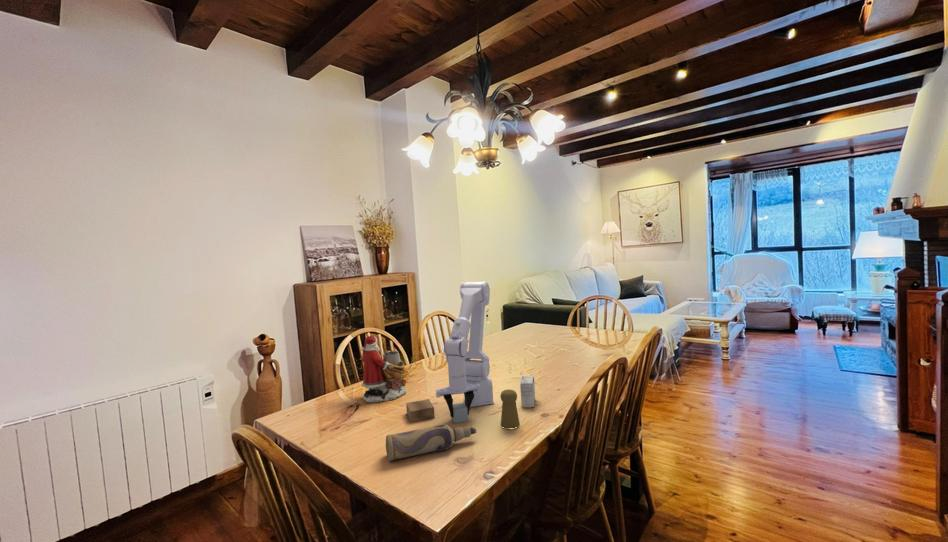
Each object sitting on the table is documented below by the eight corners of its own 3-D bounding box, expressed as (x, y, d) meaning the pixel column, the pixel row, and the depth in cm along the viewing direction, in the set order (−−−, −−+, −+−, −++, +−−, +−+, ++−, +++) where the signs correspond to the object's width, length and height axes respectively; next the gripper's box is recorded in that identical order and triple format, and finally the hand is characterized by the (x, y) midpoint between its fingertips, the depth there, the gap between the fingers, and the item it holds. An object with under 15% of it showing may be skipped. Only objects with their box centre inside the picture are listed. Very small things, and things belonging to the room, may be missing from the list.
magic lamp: (377, 381, 173) (375, 356, 173) (418, 378, 174) (417, 353, 174) (374, 386, 166) (372, 361, 166) (417, 383, 168) (415, 358, 167)
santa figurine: (409, 388, 162) (404, 328, 161) (404, 401, 148) (398, 336, 147) (368, 391, 162) (362, 331, 160) (359, 405, 148) (353, 339, 146)
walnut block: (429, 410, 139) (428, 399, 139) (434, 418, 132) (434, 407, 132) (406, 414, 137) (406, 403, 137) (411, 423, 129) (410, 411, 129)
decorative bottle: (389, 467, 103) (387, 442, 103) (385, 454, 110) (384, 430, 110) (481, 446, 111) (480, 423, 111) (473, 435, 118) (471, 413, 118)
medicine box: (534, 408, 136) (533, 383, 135) (521, 407, 137) (520, 383, 136) (535, 399, 143) (534, 376, 143) (523, 399, 144) (521, 375, 144)
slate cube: (464, 415, 132) (464, 402, 132) (468, 421, 128) (467, 407, 128) (451, 417, 131) (451, 404, 131) (454, 423, 127) (453, 409, 127)
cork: (521, 421, 125) (520, 388, 125) (517, 430, 120) (515, 395, 119) (503, 420, 127) (501, 386, 127) (498, 428, 122) (496, 393, 121)
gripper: (437, 381, 123) (439, 423, 124) (481, 375, 127) (484, 416, 128) (433, 374, 130) (436, 414, 131) (476, 369, 134) (478, 408, 134)
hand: (459, 415), depth 130 cm, fingers closed on slate cube, 4 cm apart
